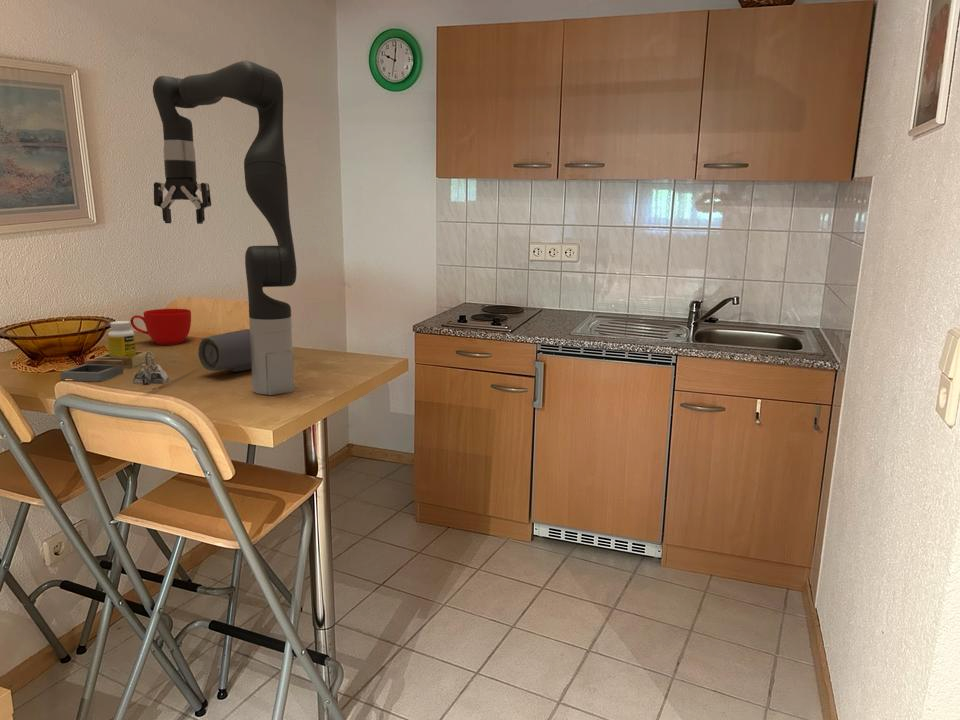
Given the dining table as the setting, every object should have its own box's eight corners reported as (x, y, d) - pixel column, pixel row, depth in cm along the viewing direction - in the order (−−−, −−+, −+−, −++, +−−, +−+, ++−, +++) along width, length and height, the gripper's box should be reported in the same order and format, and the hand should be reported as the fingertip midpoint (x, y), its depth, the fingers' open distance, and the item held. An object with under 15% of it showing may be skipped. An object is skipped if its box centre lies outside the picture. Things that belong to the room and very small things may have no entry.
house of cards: (115, 389, 162) (112, 356, 161) (132, 380, 171) (130, 348, 169) (155, 390, 162) (152, 356, 161) (170, 381, 171) (168, 349, 169)
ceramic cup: (138, 341, 220) (135, 308, 218) (196, 340, 223) (194, 308, 221) (126, 349, 207) (123, 314, 205) (188, 348, 210) (185, 314, 208)
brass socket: (149, 360, 192) (148, 351, 191) (132, 368, 183) (132, 358, 182) (113, 360, 192) (113, 350, 191) (95, 367, 183) (94, 357, 182)
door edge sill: (123, 369, 181) (122, 360, 180) (121, 370, 179) (120, 361, 179) (87, 369, 180) (86, 359, 180) (85, 370, 179) (84, 360, 179)
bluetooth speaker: (222, 378, 173) (220, 337, 171) (197, 373, 178) (195, 333, 176) (293, 363, 192) (292, 326, 190) (269, 359, 197) (267, 322, 195)
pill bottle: (129, 366, 184) (126, 324, 182) (105, 366, 184) (101, 323, 182) (141, 362, 190) (138, 320, 188) (118, 361, 190) (114, 320, 188)
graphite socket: (122, 373, 177) (122, 365, 177) (100, 381, 168) (99, 373, 167) (85, 371, 178) (84, 363, 177) (61, 380, 168) (60, 372, 168)
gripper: (213, 161, 189) (216, 223, 192) (160, 160, 189) (164, 223, 193) (200, 158, 181) (204, 224, 184) (145, 158, 182) (150, 223, 185)
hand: (184, 223), depth 189 cm, fingers open, 8 cm apart
